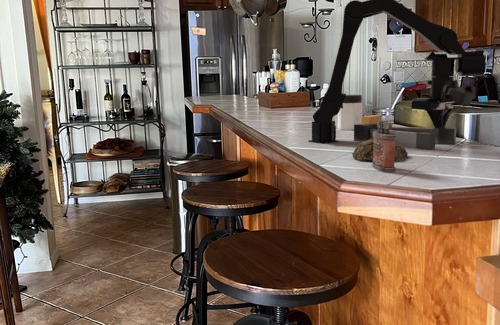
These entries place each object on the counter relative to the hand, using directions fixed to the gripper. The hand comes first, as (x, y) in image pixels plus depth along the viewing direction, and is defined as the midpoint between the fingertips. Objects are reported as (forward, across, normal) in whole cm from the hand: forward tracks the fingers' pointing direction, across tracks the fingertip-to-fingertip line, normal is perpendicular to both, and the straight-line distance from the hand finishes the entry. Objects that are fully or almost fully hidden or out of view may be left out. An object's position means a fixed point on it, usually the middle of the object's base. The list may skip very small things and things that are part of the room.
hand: (439, 133), depth 135 cm
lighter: (+3, -41, -16) cm, 44 cm away
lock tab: (-3, -12, +15) cm, 19 cm away
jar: (+3, +6, +42) cm, 42 cm away
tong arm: (+2, -6, +2) cm, 7 cm away
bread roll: (+3, -32, -6) cm, 32 cm away
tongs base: (+2, -12, +5) cm, 13 cm away
